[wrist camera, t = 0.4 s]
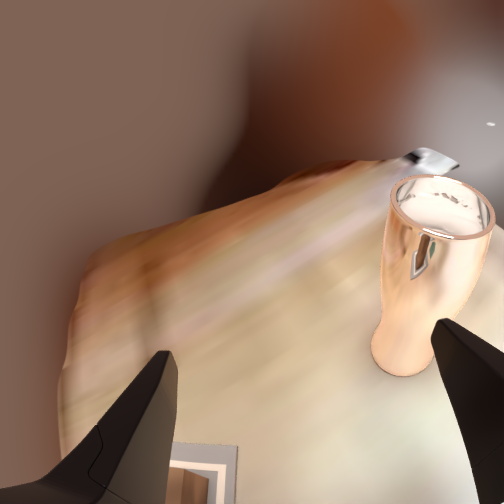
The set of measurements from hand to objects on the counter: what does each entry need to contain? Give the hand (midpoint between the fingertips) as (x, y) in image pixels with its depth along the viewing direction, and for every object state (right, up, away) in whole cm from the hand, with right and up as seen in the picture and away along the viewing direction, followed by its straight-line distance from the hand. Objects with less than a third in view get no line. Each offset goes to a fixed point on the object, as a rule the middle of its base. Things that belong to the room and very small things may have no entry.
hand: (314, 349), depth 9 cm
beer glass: (+11, -6, +15) cm, 20 cm away
